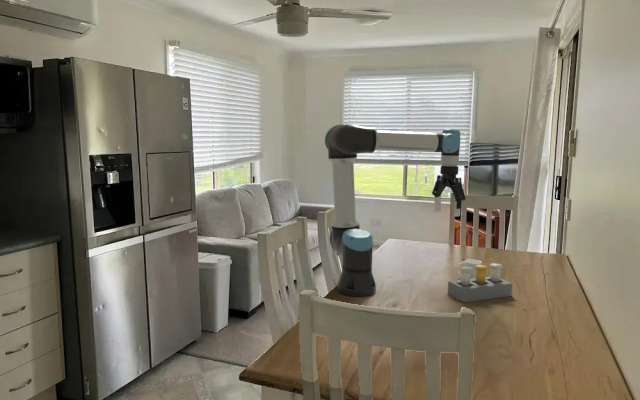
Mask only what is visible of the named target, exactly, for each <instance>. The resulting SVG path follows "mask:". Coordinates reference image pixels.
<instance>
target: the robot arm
mask: <svg viewBox="0 0 640 400" xmlns="http://www.w3.org/2000/svg"><path fill="white" fill-rule="evenodd" d="M324 145H325V147H326V148H327V156H328V160H329V161H330V162H331V163H332V181H333V183H332V184H333V203H334V206H333V207H334V208H333V209H334V220H333V222H332V223H331V231H330V233H329V238H328V239H329V240H328V241H329V244H330V246H331V249H333V251H334V252H335V253H336V254H338V255H339V256H341V257H342V258H341V260H342V261H341V263H342V265H341V273H340V276H339V279H338V281H337V287H336V289H337V292H338V293H340V294H342V295H344V296H349V297H367V296H372V295H373V294H375V293H376V292H377V284H376V281H375V278H374V274H373V269H372V268H373V253H374V252H373V250H374V249H373V248H374V241H373V240H374V239H373V238H374V237H373V234H372V233H371V232H370V231H367V230H365V229H364V230H363V229H361V228H360V227H361V225H360V222H359V221H358V220H357V219H356V197H355V196H356V194H355V167H354V166H355V165H354V162H355V161H356V160H357V158H358V154H373V153H374V152H375V151H380V152H381V151H383V152H384V151H385V152H416V153H417V152H419V153H420V152H421V153H441V155H440V172H439V173H440V174H439V175H437V176H436V181H435V184H434V186H433V189H432V192H431V195H432V196H434V212H435V213H436V212H437V213H438V212H441V208H442V194H443V193H444V190H445V189H446V188H447V187H448V188H449V189H450V190H451V192H452V195H453V197H454V199H455V200H454V206H453V207H454V209H453V217H460V216H461V209H462V202H464V201H466V195H465V191H464V186H463V184H462V177H457V176H458V175H459V166H458V165H459V162H460V150H461V149H460V147H461V131H460V130H459V129H452V128H451V129H448V128H447V129H443V130H442V133H440V132H439V133H438V132H436V133H435V132H422V131H421V132H418V131H417V132H416V131H415V132H413V131H398V130H397V131H396V130H393V131H391V130H377V129H376V128H375V127H370V126H369V127H366V126H360V125H355V124H351V123H350V124H347V123H346V124H337V125H334V126H332V127H330V128H329V129H328V130H327V132H326V134H325V136H324Z"/></svg>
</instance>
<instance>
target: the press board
mask: <svg viewBox="0 0 640 400" xmlns="http://www.w3.org/2000/svg"><path fill="white" fill-rule="evenodd" d="M490 277H491V275H490V276H485V284H477V283H476V278H472V279H470V286H462V285H461V279H456V280H449V281H448V284H447V294H448V295H449V296H451V297H453V298H455V299H457V300H459V301H461V302H463V303H469V302H471V303H472V302H477V301H483V300H484V301H485V300H492V299H498V298H506V297H512V296H513V293H512V292H513V282H510V281H507V280H505V279H503V278H500V282H499V283H494V282H491V281H490Z"/></svg>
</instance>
